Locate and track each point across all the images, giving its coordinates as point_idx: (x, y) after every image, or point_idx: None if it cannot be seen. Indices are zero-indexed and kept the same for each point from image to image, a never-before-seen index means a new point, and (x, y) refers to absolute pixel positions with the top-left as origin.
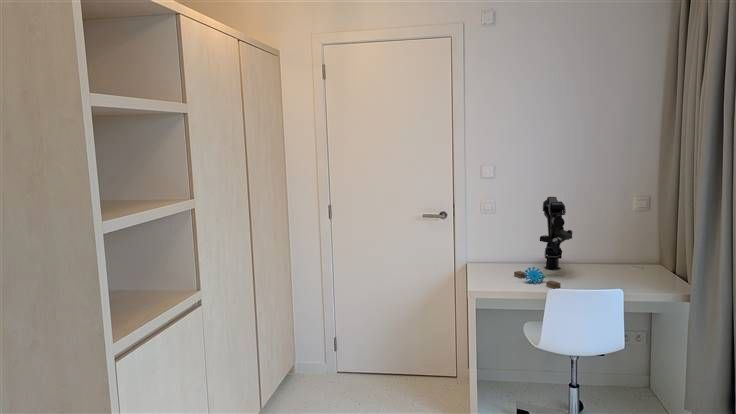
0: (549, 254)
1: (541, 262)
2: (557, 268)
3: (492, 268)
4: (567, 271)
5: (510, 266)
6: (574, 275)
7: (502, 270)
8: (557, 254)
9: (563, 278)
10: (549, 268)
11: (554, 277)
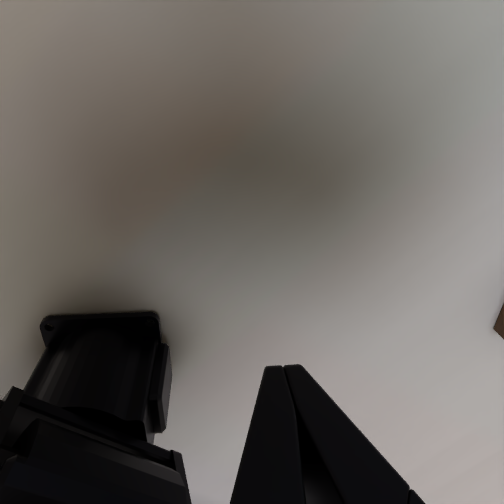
0: (168, 474)
1: None
2: (89, 318)
3: (446, 496)
4: (45, 212)
5: None
6: (86, 27)
7: (449, 451)
8: (64, 436)
9: (312, 7)
10: (166, 344)
11: (352, 111)
